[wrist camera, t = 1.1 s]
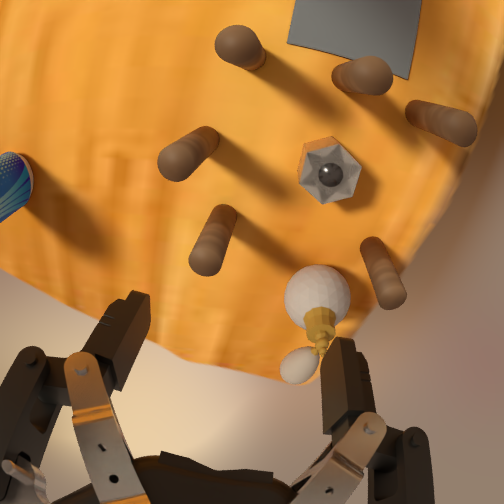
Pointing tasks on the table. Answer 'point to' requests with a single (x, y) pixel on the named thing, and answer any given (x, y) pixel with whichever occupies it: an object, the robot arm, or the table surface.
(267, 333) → the table surface
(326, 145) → the nut
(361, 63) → the post field
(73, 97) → the table surface
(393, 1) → the felt mat
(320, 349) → the perfume bottle
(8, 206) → the beer can
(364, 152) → the table surface
